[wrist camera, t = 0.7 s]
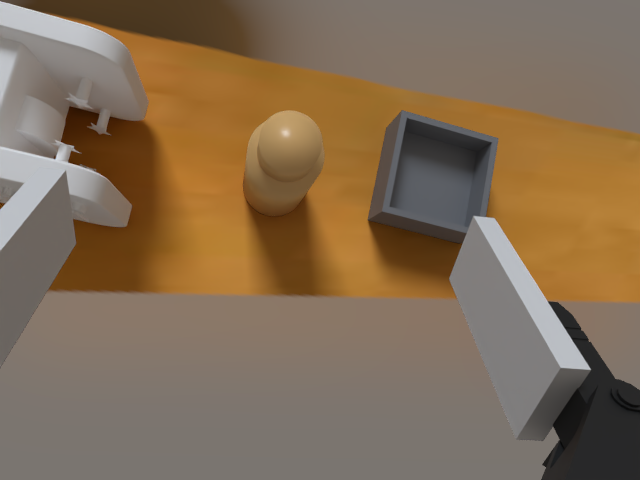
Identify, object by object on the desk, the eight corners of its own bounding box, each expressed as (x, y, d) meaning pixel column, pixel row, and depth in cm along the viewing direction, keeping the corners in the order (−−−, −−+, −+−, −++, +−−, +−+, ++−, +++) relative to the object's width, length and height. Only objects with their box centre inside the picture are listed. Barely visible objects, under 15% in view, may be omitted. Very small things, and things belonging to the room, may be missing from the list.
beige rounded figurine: (236, 207, 40) (240, 169, 29) (251, 150, 41) (260, 91, 30) (296, 222, 41) (322, 191, 30) (309, 165, 42) (339, 114, 31)
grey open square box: (367, 220, 42) (382, 211, 38) (386, 127, 44) (402, 110, 40) (459, 243, 43) (482, 237, 39) (474, 153, 45) (498, 138, 41)
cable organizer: (164, 112, 40) (140, 36, 29) (130, 238, 39) (89, 210, 27) (-34, 60, 38) (-145, -44, 27) (-80, 192, 36) (-220, 140, 25)
